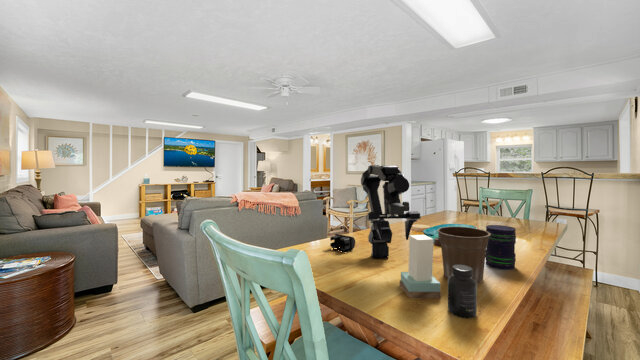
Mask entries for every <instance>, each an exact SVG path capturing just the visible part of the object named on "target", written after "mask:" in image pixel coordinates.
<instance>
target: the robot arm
mask: <svg viewBox="0 0 640 360" xmlns="http://www.w3.org/2000/svg"><path fill="white" fill-rule="evenodd" d="M381 182H384V183H383V185H382V191H383V207H384V213H383V210H382V205H381V201H380V196H379V191H378V190H379V188H380V186H381V185H380V184H381ZM360 184H361V186H362V189H363V191H364V192H365V193H366V194H367V198H368V203H369V207H370V211H369V212H368V213H367V214H366V221H367V222H369V221H370V224H371V226H370V232H369V233H368V236H367V239H368V243H370V244H371V253H370V254H371V258H372V259H379V260H384V259H385V260H387V259H389V256H390V255H389V252H390V247H389V245H388V244H392V243H391V242H392V239H393V238H392V237H393V231H392V228H391V227H390V226H391V225H390V222H389V219H390V220H391V219H392V220H393V219H397V220H399V219H400V220H401V219H404V220H405V221H404V230H405V234H404V235H405V236H404V237H405V240H406V241H408V240H409V235H411V234H410V233H411V231H412V230H411V229H412V227H413V225H414V223H416V222H418V220H421V213H420V212H419V211H418V210H416V211H414V210H413V211H412V210H411V211H410V202H409V201H402V202H401V199H400V195H402V194H404V193H406V192H407V191H408V190H409V189H410V182H409V180H408V179H407V178H406V177H405V175H404V174H403V173H402V171H401V169H400V168H399V166H398V165H379V164H370V165H368V167H367V169H366V170H365V171H364V172H362V175H361V178H360ZM386 219H388V220H386Z"/></svg>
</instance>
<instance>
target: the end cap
mask: <svg viewBox="0 0 640 360" xmlns="http://www.w3.org/2000/svg"><path fill="white" fill-rule="evenodd" d="M329 240H330V241H332V242H330V245H329V247H330V248H333V249H334V248H337V249H335V250H339V251H342V252H341V253H343V252H347V253H349V252H348V251H350V252H352V251H353V250H354V249H355V247H356V239H355V237H354V236H351V235H345V234H339V233H335V234H334V235H333V236H330V239H329ZM339 247H340V248H339ZM335 250H334V251H335ZM351 250H352V251H351ZM339 251H338V252H339Z"/></svg>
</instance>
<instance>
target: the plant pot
mask: <svg viewBox="0 0 640 360" xmlns="http://www.w3.org/2000/svg"><path fill="white" fill-rule="evenodd" d="M436 232H437V234H438V233H439V237H440V242H441V259H442V269H443V270H442V271H443V275H444V277H445V278H447V279H448V278H449V277H450V276H451V275H453V274H452V266H453V265H466V266H469V267H471V268H472V269H473V277H472V278H474V279H475V280H476V282H477V284H480V283H482V282H483V280H484V273H485V265H486V258H485V255H486V247H487V246H488V239H489V237H490V233H489V232H487V231H486V230H484V229H480V228H473V227H467V226H444V227H439V228H437V231H436Z"/></svg>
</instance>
